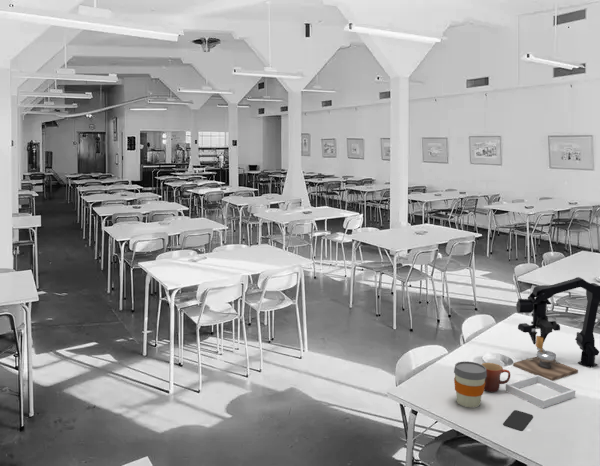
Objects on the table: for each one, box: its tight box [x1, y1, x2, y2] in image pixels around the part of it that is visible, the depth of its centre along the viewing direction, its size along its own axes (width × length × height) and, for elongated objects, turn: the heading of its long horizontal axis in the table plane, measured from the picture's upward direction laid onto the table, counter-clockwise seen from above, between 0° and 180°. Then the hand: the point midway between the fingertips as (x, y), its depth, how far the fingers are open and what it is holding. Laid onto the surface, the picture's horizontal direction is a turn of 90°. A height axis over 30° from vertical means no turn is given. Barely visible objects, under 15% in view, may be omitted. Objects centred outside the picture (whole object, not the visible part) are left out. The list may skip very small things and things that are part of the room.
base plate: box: [512, 356, 579, 381], centre depth 256 cm, size 20×20×4 cm
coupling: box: [535, 335, 557, 363], centre depth 258 cm, size 14×8×8 cm, turn 177°
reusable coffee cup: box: [453, 360, 487, 409], centre depth 220 cm, size 13×13×15 cm
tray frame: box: [504, 375, 576, 409], centre depth 230 cm, size 21×18×3 cm
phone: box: [502, 409, 534, 432], centre depth 206 cm, size 7×1×15 cm
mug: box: [480, 362, 511, 393], centre depth 232 cm, size 12×9×10 cm
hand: (538, 344), depth 264 cm, fingers open, 4 cm apart
